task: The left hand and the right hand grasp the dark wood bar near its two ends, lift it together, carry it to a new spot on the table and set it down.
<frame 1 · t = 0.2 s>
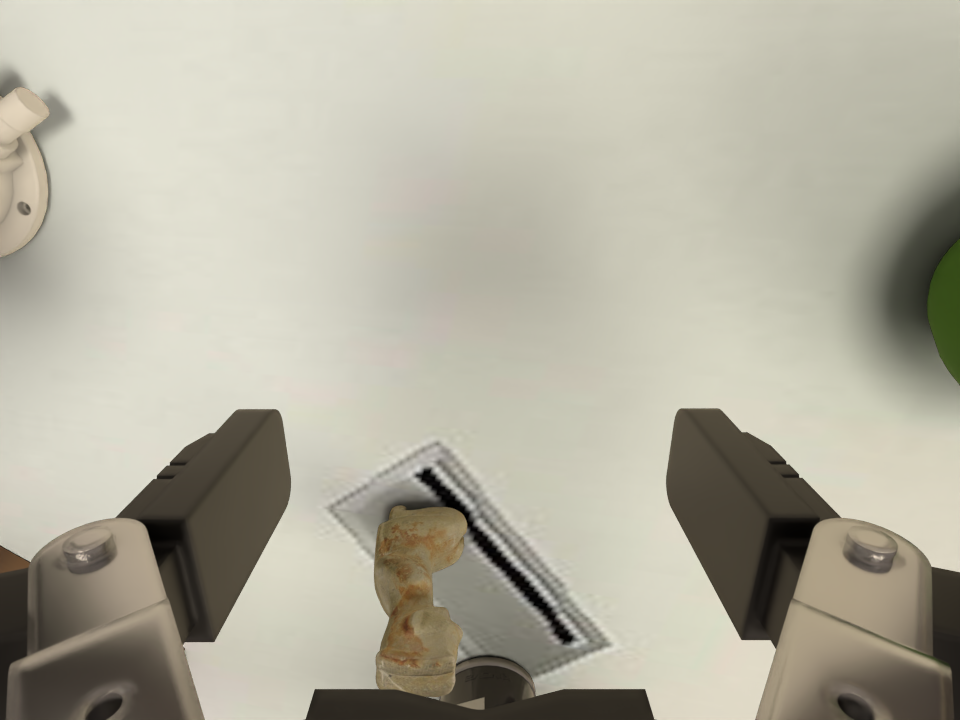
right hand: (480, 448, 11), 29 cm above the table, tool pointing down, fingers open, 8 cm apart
sculpture: (424, 520, 47), on the table
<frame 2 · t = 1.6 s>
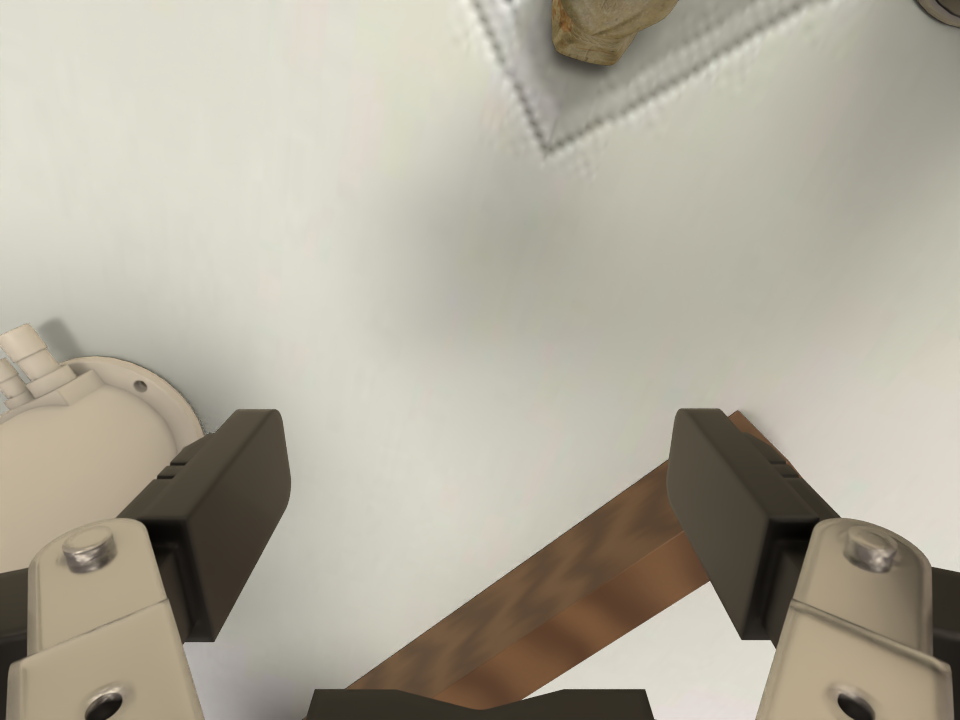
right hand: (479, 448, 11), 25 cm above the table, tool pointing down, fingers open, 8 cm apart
bar: (490, 614, 46), on the table
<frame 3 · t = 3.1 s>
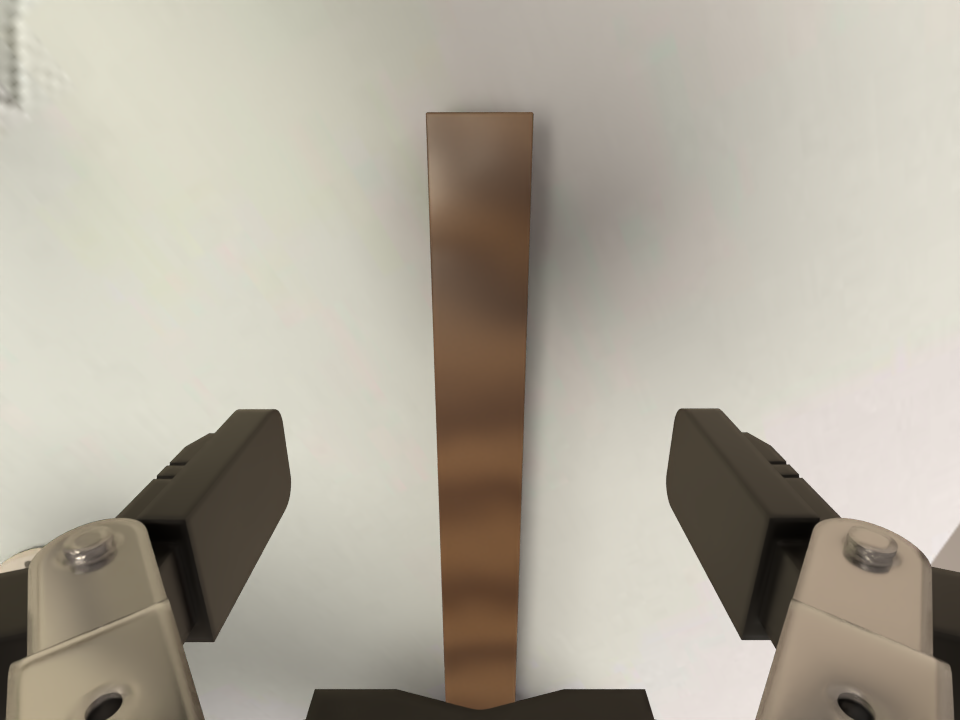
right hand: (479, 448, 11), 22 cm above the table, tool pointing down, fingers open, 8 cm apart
bar: (480, 516, 38), on the table, touching left hand
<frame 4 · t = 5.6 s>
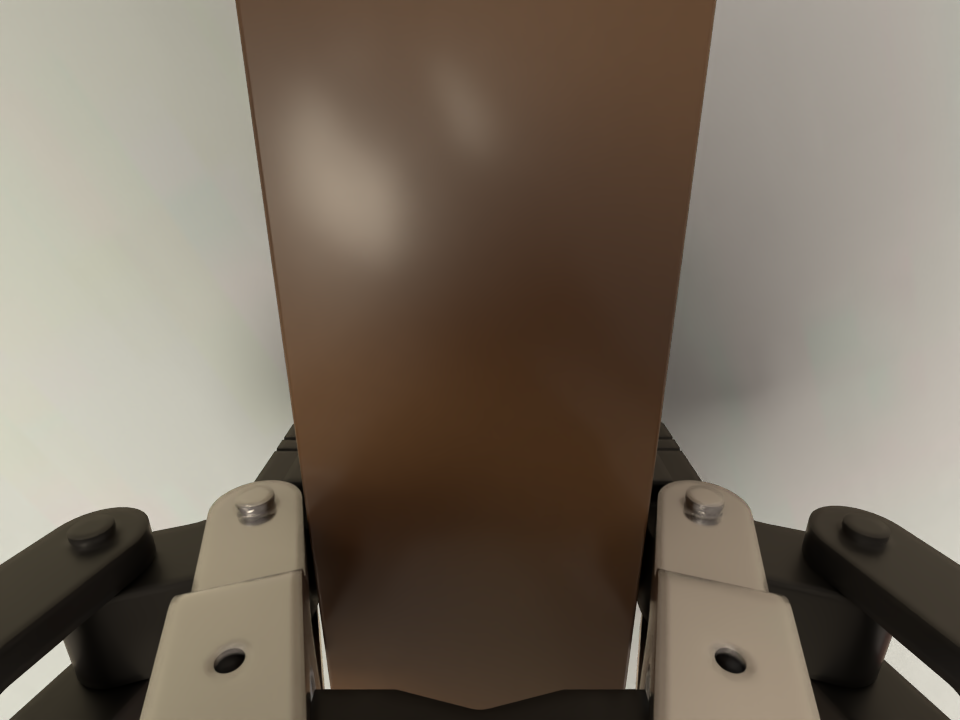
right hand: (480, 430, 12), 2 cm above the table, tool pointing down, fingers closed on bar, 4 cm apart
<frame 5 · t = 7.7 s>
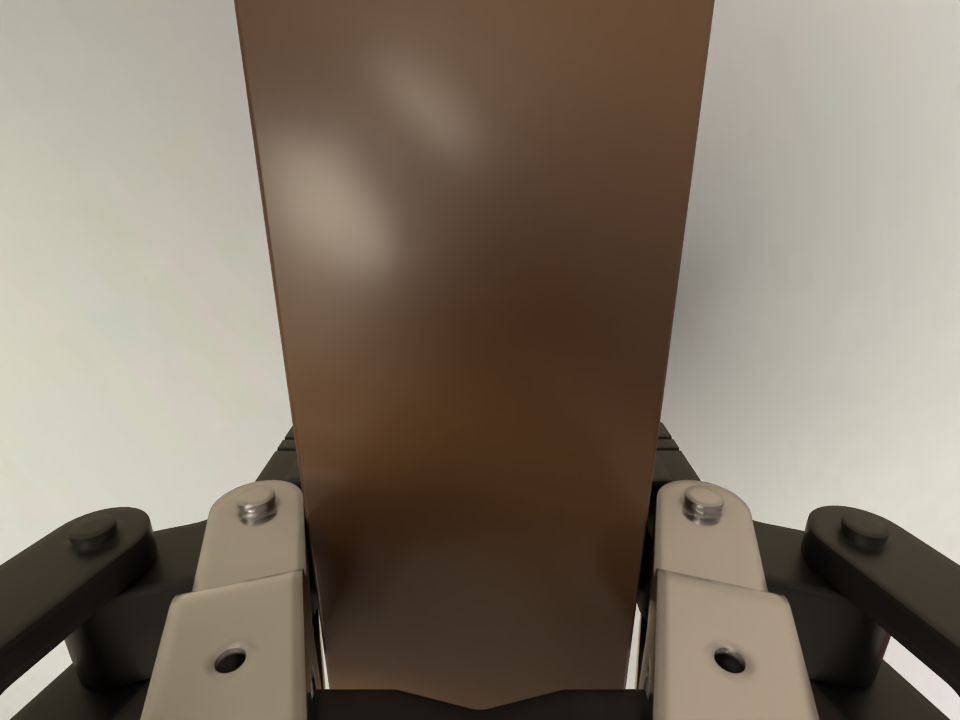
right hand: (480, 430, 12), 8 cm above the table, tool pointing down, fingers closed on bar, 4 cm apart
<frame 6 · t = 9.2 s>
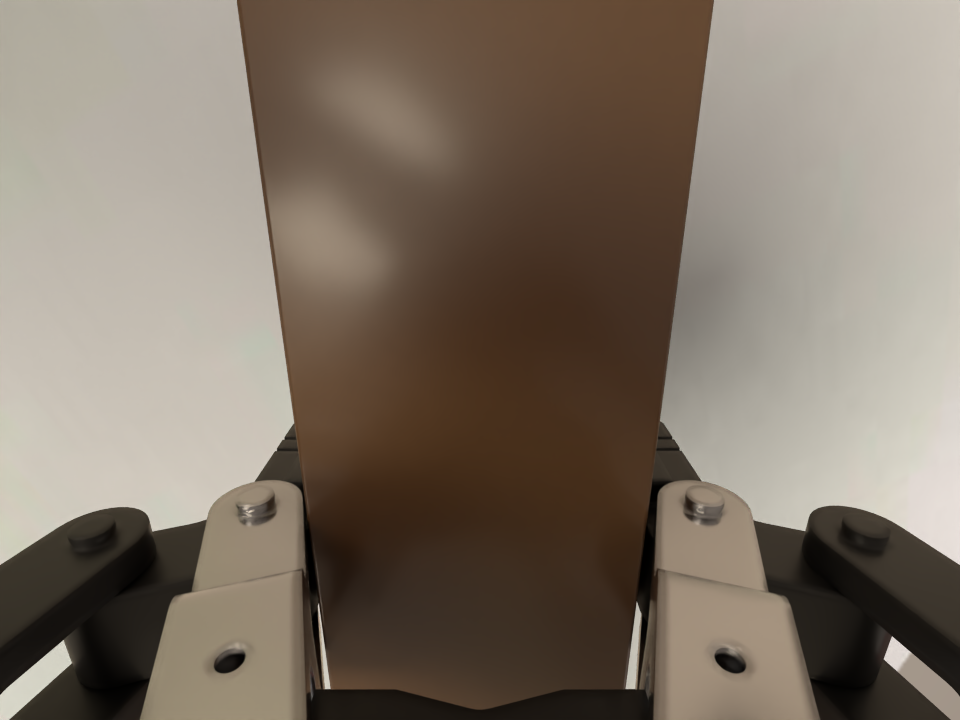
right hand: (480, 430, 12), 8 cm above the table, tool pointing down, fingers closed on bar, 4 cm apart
when the left hand's fingers open (4 cm above the table, at t = 10.1 s): bar drops 2 cm, on the table.
when the right hand's fingers open (4 cm above the table, at t = 10.1 s): bar drops 2 cm, on the table.
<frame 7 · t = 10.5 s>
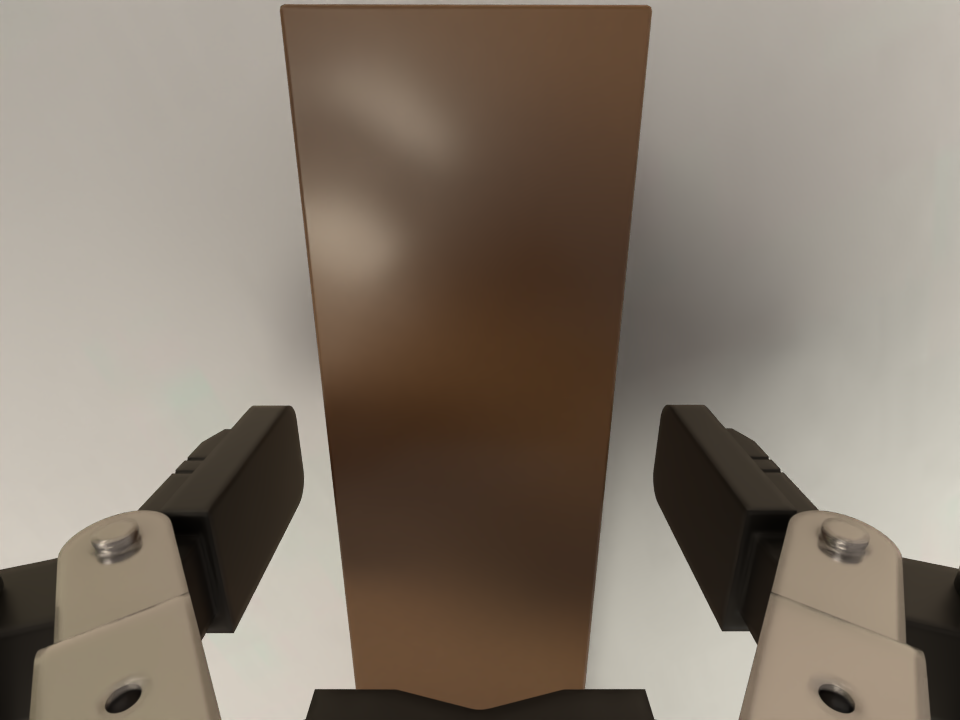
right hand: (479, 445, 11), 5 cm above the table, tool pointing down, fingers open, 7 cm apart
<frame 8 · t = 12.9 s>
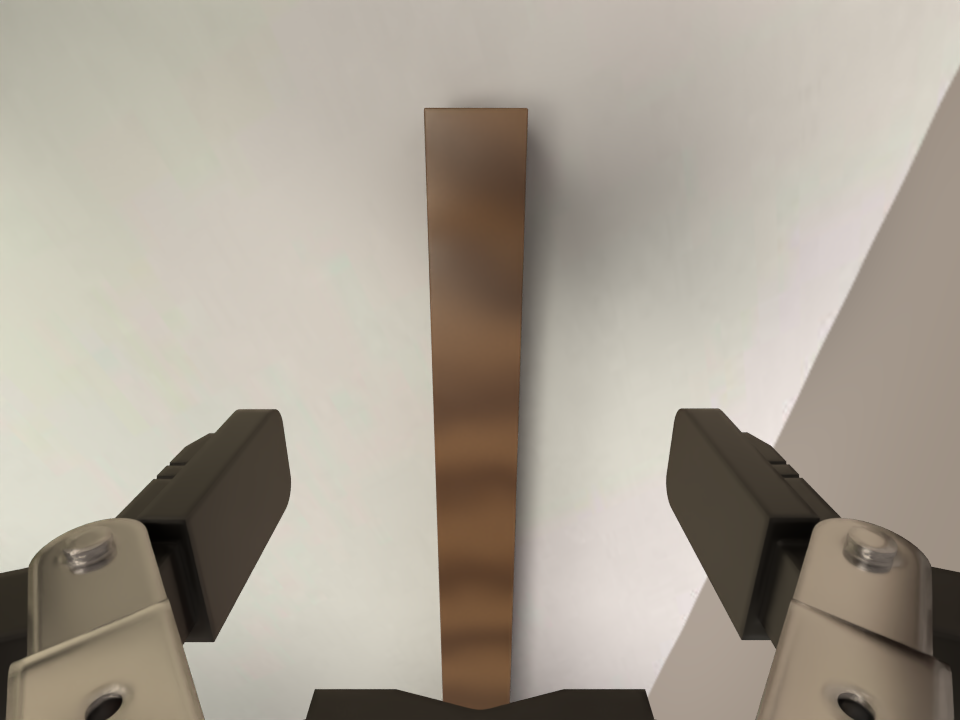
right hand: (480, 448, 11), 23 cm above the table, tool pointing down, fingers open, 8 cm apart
bar: (476, 506, 39), on the table
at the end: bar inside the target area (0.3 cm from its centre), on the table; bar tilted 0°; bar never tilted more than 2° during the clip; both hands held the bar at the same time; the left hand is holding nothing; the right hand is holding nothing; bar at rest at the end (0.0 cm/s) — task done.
